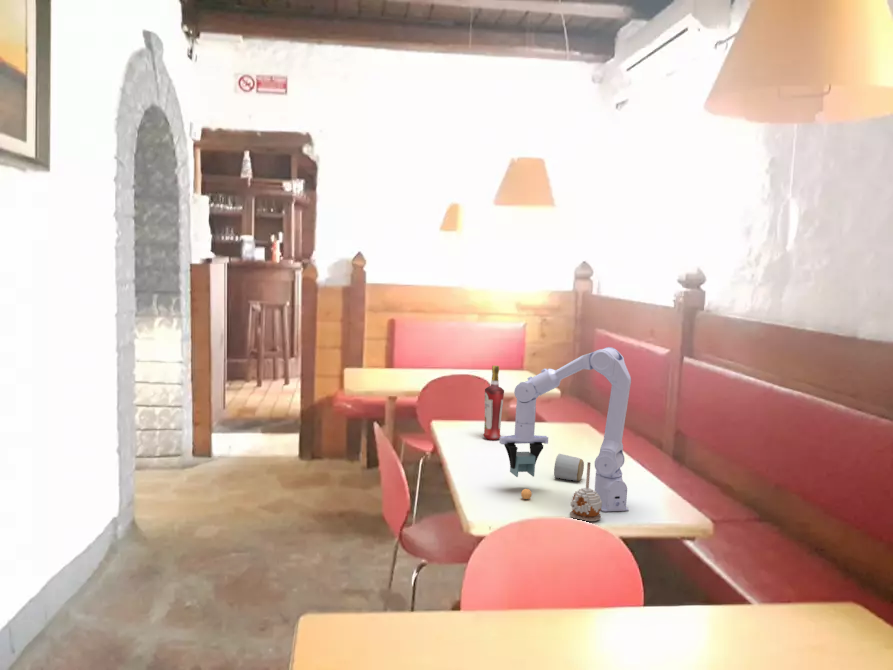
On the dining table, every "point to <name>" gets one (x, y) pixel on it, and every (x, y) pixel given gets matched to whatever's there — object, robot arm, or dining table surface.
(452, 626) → the dining table surface
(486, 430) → the liquor
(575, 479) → the ceramic mug
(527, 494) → the orange ball
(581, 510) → the caramel apple
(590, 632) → the dining table surface
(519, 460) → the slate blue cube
